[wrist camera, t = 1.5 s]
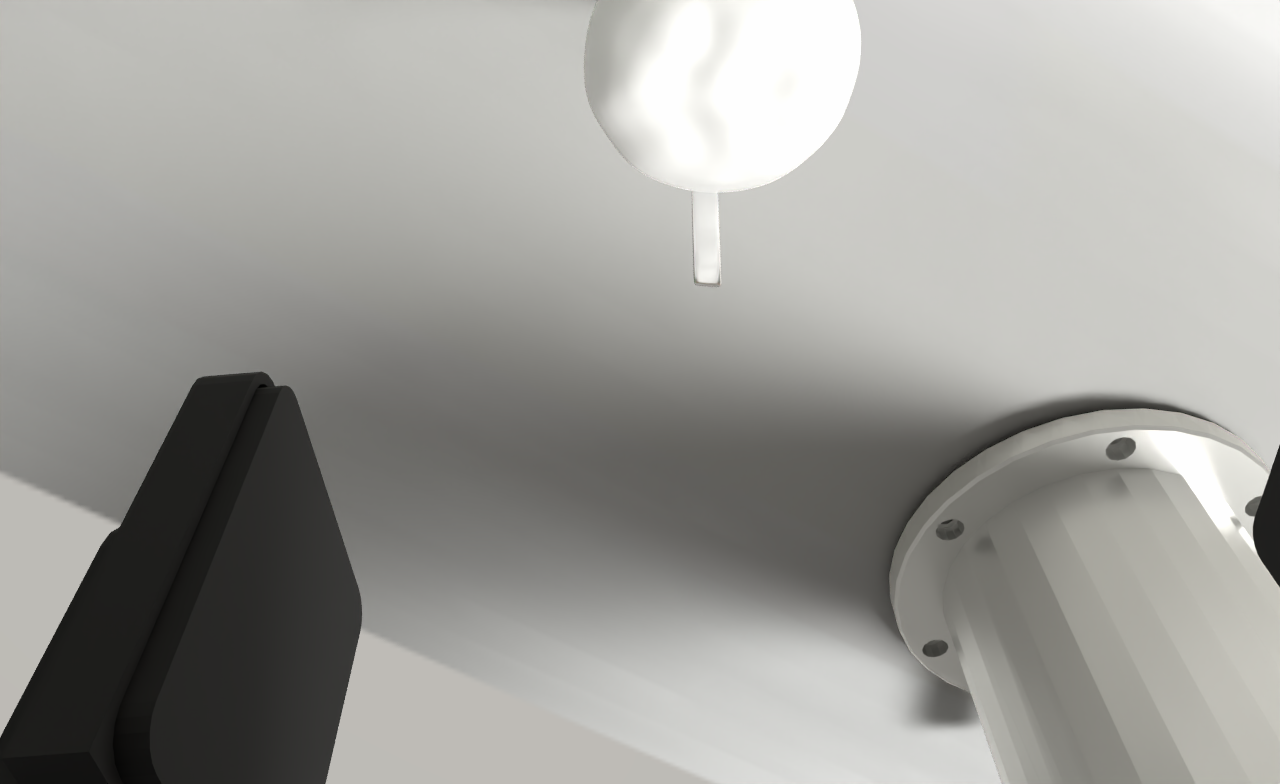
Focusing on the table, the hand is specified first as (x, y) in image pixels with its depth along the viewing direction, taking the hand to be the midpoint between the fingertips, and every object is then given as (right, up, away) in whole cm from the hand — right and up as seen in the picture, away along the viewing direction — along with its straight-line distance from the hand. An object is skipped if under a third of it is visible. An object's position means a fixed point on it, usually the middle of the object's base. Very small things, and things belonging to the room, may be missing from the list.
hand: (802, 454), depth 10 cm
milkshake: (0, +11, +15) cm, 18 cm away
